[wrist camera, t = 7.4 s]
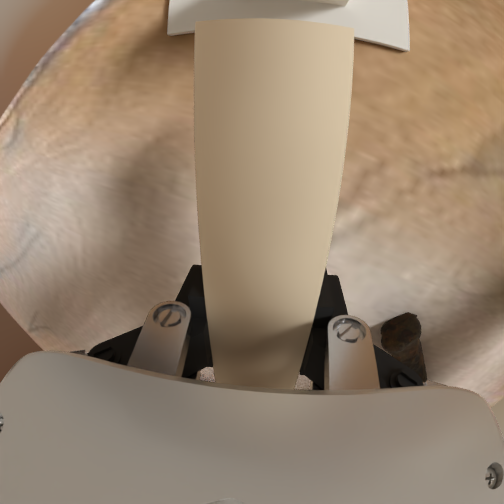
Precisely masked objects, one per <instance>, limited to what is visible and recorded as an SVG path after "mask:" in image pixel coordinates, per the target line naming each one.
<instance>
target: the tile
mask: <svg viewBox="0 0 504 504" xmlns="http://www.w3.org/2000/svg"><path fill="white" fill-rule="evenodd" d="M301 1H311V2H319V3H327V4H333V5H340V6H346V4H347V3H348V1H349V0H301Z"/></svg>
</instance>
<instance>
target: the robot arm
mask: <svg viewBox="0 0 504 504" xmlns="http://www.w3.org/2000/svg"><path fill="white" fill-rule="evenodd" d="M205 367H213V359H212V352H211V345H210V337H209V329H208V321H207V314H206V305H205V295H204V285H203V275H202V265H193V266H192V267H191V269H190V271H189V273H188V275H187V277H186V279H185V281H184V284H183V286H182V288H181V290H180V292H179V294H178V296H177V298H176V300H175V301H166V302H162V303H160V304H158V305H156V306H154V307H153V308H152V309H151V311H150V312H149V314H148V316H147V318H146V321H145V323H144V325H143V326H141V327H139V328H136V329H134V330H132V331H129V332H127V333H124V334H122V335H120V336H117V337H115V338H112V339H110V340H107V341H105V342H102V343H100V344H98V345H96V346H94V347H93V348H92V349H91V350H90V352H89V353H87V352H86V350H80V351H72V352H65V351H38V352H33V353H29V354H28V355H25V356H24V357H22V358H21V359H20V360H19V361H18V362H17V363H16V364H15V365H14V366H13V367H12V368H11V369H10V371H9V372H8V373H7V375H6V376H5V377H4V379H3V380H2V382H1V383H0V504H504V439H503V436H502V433H501V430H500V427H499V425H498V422H497V420H496V418H495V415H494V413H493V411H492V409H491V407H490V406H489V404H488V403H487V401H486V400H485V399H484V398H483V397H482V396H480V395H479V394H477V393H475V392H473V391H470V390H467V389H463V388H458V387H452V386H446V385H443V384H440V383H436V382H433V381H430V380H427V381H426V382H423V381H422V379H421V377H420V376H419V375H418V374H417V373H416V372H415V371H414V370H412V369H411V368H409V367H407V366H406V365H404V364H403V363H401V362H400V361H398V360H397V359H395V358H394V357H392V356H391V355H389V354H388V353H386V352H384V351H383V350H381V349H380V348H378V347H377V346H375V345H374V344H373V342H372V337H371V332H370V329H369V326H368V325H367V324H366V323H365V322H364V321H363V320H361V319H360V318H357V317H355V316H351V315H348V312H347V308H346V304H345V300H344V296H343V293H342V289H341V285H340V281H339V278H338V276H337V275H328V274H327V270H326V268H325V273H324V278H323V282H322V286H321V291H320V295H319V299H318V304H317V308H316V312H315V316H314V320H313V324H312V328H311V331H310V335H309V339H308V343H307V346H306V350H305V353H304V357H303V361H302V364H301V367H300V375H305V376H306V377H308V378H309V379H310V380H311V382H310V390H295V389H275V388H261V387H250V386H240V385H231V384H223V383H215V382H208V381H201V380H200V370H201V369H203V368H205Z"/></svg>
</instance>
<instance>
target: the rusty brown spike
mask: <svg viewBox="0 0 504 504" xmlns="http://www.w3.org/2000/svg"><path fill="white" fill-rule="evenodd" d="M381 334H382V339H381V343H382V346H383V348H384V349H385V350H386V351H388V352H389V353H391V355H392V357H394V358H395V359H397V360H398V361H400V362H401V363H403V364H404V365H406V366H407V367H409V368H411V369H412V370H414V371H415V372H416V373H417V374H418V375H419V376H420V377H421V379H422V381H423V382H426V381H427V376H426V369H425V364H424V358H423V353H422V348H421V343H420V341H419V338H420V336H421V325H420V322H419V320H418V319H417V315H414V314H411V313H409V312H407V313H405V314H403V315H401V316H398V317H395V318H393V319H391V320H390V321H388V322H387V323H385V324H384V325H383V327H382V328H381Z"/></svg>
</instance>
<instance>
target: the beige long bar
mask: <svg viewBox="0 0 504 504" xmlns="http://www.w3.org/2000/svg"><path fill="white" fill-rule="evenodd" d="M353 57H354V28H350V27H344V26H339V25H332V24H326V23H318V22H310V21H300V20H288V19H266V18H241V19H219V20H206V21H197V22H195V44H194V145H195V173H196V193H197V211H198V226H199V239H200V252H201V264H202V275H203V285H204V295H205V305H206V314H207V321H208V329H209V337H210V345H211V352H212V359H213V369H214V376H215V383H223V384H231V385H240V386H250V387H261V388H275V389H294V387H295V384H296V381H297V378H298V374H299V371H300V367H301V364H302V361H303V357H304V353H305V350H306V346H307V343H308V339H309V335H310V331H311V328H312V324H313V320H314V316H315V312H316V308H317V304H318V299H319V295H320V291H321V286H322V282H323V278H324V273H325V268H326V264H327V259H328V254H329V249H330V244H331V239H332V234H333V228H334V223H335V217H336V211H337V205H338V199H339V193H340V187H341V180H342V173H343V166H344V158H345V151H346V142H347V134H348V124H349V114H350V103H351V91H352V76H353Z"/></svg>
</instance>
